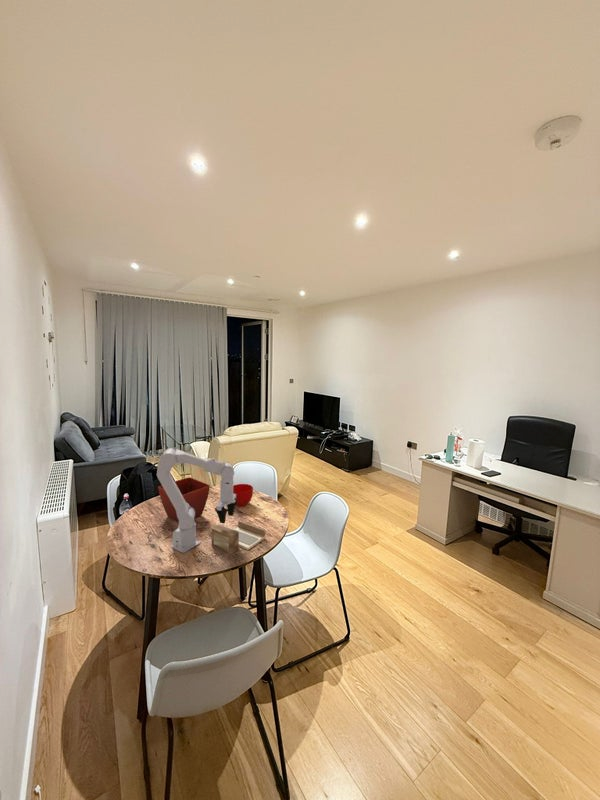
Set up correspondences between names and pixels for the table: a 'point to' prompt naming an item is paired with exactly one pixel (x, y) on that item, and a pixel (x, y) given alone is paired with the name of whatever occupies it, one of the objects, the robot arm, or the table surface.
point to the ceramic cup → (243, 494)
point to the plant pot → (187, 496)
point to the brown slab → (225, 539)
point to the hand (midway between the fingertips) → (226, 519)
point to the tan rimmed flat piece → (249, 535)
